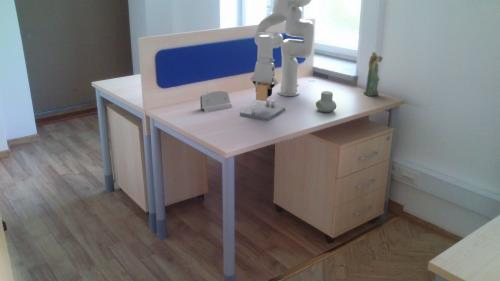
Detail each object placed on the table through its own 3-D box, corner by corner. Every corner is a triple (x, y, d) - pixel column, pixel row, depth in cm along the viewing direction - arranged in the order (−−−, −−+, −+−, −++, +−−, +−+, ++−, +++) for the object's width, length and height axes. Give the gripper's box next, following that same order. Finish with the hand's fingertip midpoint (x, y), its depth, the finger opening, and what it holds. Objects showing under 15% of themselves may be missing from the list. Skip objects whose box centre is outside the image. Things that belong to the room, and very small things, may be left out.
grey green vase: (313, 108, 257) (315, 90, 253) (327, 106, 260) (329, 89, 256) (323, 114, 248) (325, 96, 244) (337, 113, 250) (339, 94, 247)
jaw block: (261, 93, 252) (262, 80, 249) (271, 94, 250) (271, 81, 248) (255, 100, 241) (256, 86, 238) (265, 101, 240) (266, 87, 237)
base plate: (258, 104, 261) (258, 96, 259) (285, 109, 253) (285, 101, 252) (240, 115, 244) (240, 106, 243) (267, 120, 237) (268, 112, 235)
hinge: (204, 111, 248) (201, 92, 247) (200, 112, 252) (197, 93, 251) (232, 107, 256) (229, 88, 255) (228, 107, 260) (225, 89, 259)
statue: (380, 94, 283) (385, 52, 273) (370, 96, 278) (375, 54, 269) (372, 91, 288) (377, 50, 278) (361, 93, 284) (366, 51, 274)
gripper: (283, 60, 238) (282, 95, 244) (253, 56, 245) (252, 90, 252) (277, 63, 232) (275, 99, 238) (246, 59, 239) (245, 94, 246)
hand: (263, 94), depth 245 cm, fingers closed on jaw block, 5 cm apart
